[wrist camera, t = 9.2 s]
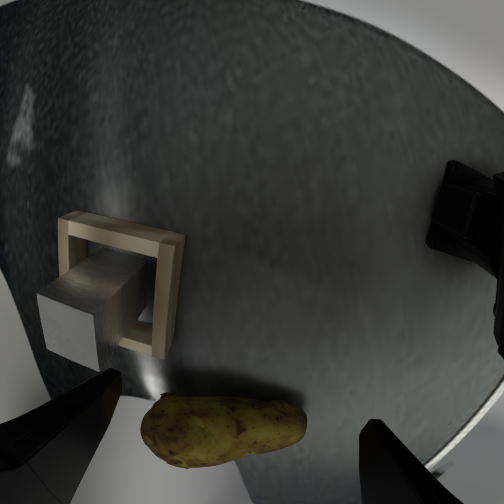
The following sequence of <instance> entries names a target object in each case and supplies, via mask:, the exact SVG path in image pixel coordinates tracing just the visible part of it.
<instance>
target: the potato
mask: <svg viewBox="0 0 504 504" xmlns="http://www.w3.org/2000/svg"><path fill="white" fill-rule="evenodd" d="M170 393H171V392H167V393H163V394H160V395H162V396H161V398H160V400H158V401H157V402H155V403H154V405H153V407H152V408H151V409H150V410H149V411H148V412H147V413H146V414H145V416H144V418H143V420H142V423H141V436H142V439H143V441H144V443H145V445H147V446H148V447H149V448H150V450H151V451H152V452H153V453H154V454H155V455H156V456H157V457H159V458H160V459H162V460H164V461H166V462H167V463H168V464H170V465H173V466H176V467H181V468H186V469H189V468H196V467H197V468H198V467H208V466H216V465H220V464H224V463H227V462H230V461H234V460H236V459H239V458H241V457H244V456H246V455H254V454H263V453H267V452H271V451H275V450H279V449H283V448H286V447H288V446H290V445H292V444H294V443H296V442H298V441H300V440H301V439H302V438H303V437H304V435H305V432H306V428H307V416H306V414H305V412H304V411H303V410H302V409H301V408H299V407H298V406H296V405H294V404H292V403H290V402H287V401H285V400H273V401H270V402H265V401H262V400H258V399H253V398H247V397H237V396H210V397H185V396H175V395H173V393H172V394H170Z"/></svg>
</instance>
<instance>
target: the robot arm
mask: <svg viewBox="0 0 504 504" xmlns="http://www.w3.org/2000/svg"><path fill="white" fill-rule="evenodd" d="M453 165H455V170H453ZM493 179H494V180H492V179H490V178H489V177H487V176H485V175H483V174H481V173H479V172H478V171H476V170H474V169H472V168H470V167H468V166H466V165H464V164H462V163H460V162H458V161H455V160H451V161H449V162H448V165H447V169H446V173H445V177H444V181H443V184H442V185H441V189H440V193H439V196H438V200H437V203H436V207H435V210H434V214H433V217H432V218H433V220H432V224H431V227H430V230H429V233H428V236H427V239H426V244H427V246H429V247H430V248H432V249H435V250H438V251H441V252H444V253H447V254H450V255H453V256H457V257H460V258H463V259H466V260H469V261H472V262H474V263H476V264H477V265H478V266H480V267H481V268H483V269H484V270H485V271H487V272H488V273H490V274H491V275H492V276H494V277H495V278H496V279H497V291H496V301H495V304H494V307H493V313H494V316H495V321H494V336H495V339H496V342H497V345H498V353H499V354H500V355H501V356H502V358H503V359H504V172H501V173H497V174H494V175H493ZM433 239H435V241H434V243H432V244H431V242H432V240H433ZM121 392H122V377H121V372H120V371H118V370H116V369H113V368H108V369H106V370H105V371H103V372H101V373H99V374H98V375H96V376H94V377H92V378H90V379H89V380H87V381H85V382H83V383H81V384H80V385H78V386H76V387H74V388H72V389H70V390H69V391H67V392H65V393H63V394H61V395H59V396H58V397H56V398H54V399H52V400H50V401H48V402H47V403H45V404H43V405H41V406H39V407H37V409H36V408H35V409H34V410H32V411H29V412H28V413H25V414H23V415H21V416H19V417H17V418H15V419H12V420H10V421H7V422H4V423H2V424H0V504H70V503H71V500H72V498H73V496H74V494H75V492H76V490H77V488H78V486H79V484H80V482H81V480H82V477H83V476H84V474H85V472H86V470H87V468H88V465H89V463H90V461H91V459H92V458H93V456H94V454H95V451H96V449H97V448H98V446H99V444H100V442H101V440H102V438H103V436H104V434H105V432H106V430H107V428H108V426H109V424H110V421H111V419H112V416H113V413H114V410H115V408H116V405H117V402H118V400H119V397H120V395H121ZM359 475H360V486H361V497H362V504H463V503H462V502H461V501H460V500H459V499H457V498H456V497H455V496H454V495H453V494H451V493H450V492H449V491H448V490H447V489H446V488H445V487H444V486H443V485H442V484H441V483H440V482H439V481H438V480H437V479H436V478H435V477H433V475H432V474H431V473H430V472H429V471H428V470H427V469H426V467H425V466H424V465H423V464H422V463H421V462H420V461H419V460H418V459H417V458H416V457H415V456H414V455H413V454H412V453H411V451H410V450H409V449H408V448H407V447H406V446H405V445H404V444H403V443H402V442H401V441H400V440H399V439H398V438H397V436H396V435H395V434H394V433H393V432H392V431H391V430H390V429H389V428H388V427H387V426H386V425H385V423H384V422H383V421H382V420H380V419H370V420H369V421H368V422H367V424H366V425H365V426H364V428H363V429H362V430H361V432H360V435H359Z"/></svg>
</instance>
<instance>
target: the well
mask: <svg viewBox="0 0 504 504" xmlns="http://www.w3.org/2000/svg"><path fill="white" fill-rule="evenodd" d="M185 239H186V235H185V234H181V233H177V232H172V231H168V230H163V229H159V228H154V227H150V226H146V225H141V224H137V223H132V222H128V221H123V220H119V219H114V218H110V217H105V216H101V215H97V214H92V213H88V212H83V211H79V210H77V211H74V212H72V213H69V214H67V215H65V216H62V217H60V218H58V253H59V273H60V276H61V275H63V274H64V273H66V272H67V271H68V270H70V269H71V268H73V267H74V266H76V265H77V264H78V263H80V262H81V261H83V260H84V259H86V247H87V240H90V241H94V242H98V243H101V244H105V245H109V246H113V247H117V248H120V249H124V250H128V251H132V252H136V253H140V254H144V255H148V256H152V257H156V258H158V260H157V270H156V282H155V295H154V310H153V325H151V324H147V323H144V322H141V321H137V320H136V321H135V323H134V324H133V325H132V327H131V328H130V330H129V331H128V332H127V334H126V335H125V337H124V338H123V339H122V341H121V342H120V343H119V346H122V347H125V348H128V349H131V350H134V351H137V352H140V353H143V354H146V355H150V356H153V357H156V358H159V359H163V360H164V359H165V357H166V355H167V353H168V351H169V349H170V347H171V345H172V343H173V340H174V329H175V319H176V309H177V300H178V291H179V283H180V275H181V267H182V260H183V253H184V246H185Z"/></svg>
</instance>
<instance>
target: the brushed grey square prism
mask: <svg viewBox="0 0 504 504" xmlns="http://www.w3.org/2000/svg"><path fill="white" fill-rule="evenodd" d="M149 261H150V259H147V258H143V257H139V256H135V255H131V254H127V253H123V252H120V251H116V250H112V249H108V248H104V247H102V248H101V249H99V250H98V251H96V252H95V253H93V254H92V255H90V256H89V257H87V258H86V259H84V260H83V261H81V262H80V263H78V264H77V265H76V266H74V267H73V268H71V269H70V270H68V271H67V272H66V273H64V274H63V275H61V276H60V277H58V278H57V279H56V280H54V281H53V282H52V283H50V284H49V285H47V286H46V287H45V288H43V289H42V290H41V291H39V292H38V293H37V299H38V305H39V311H40V317H41V323H42V328H43V333H44V337H45V342H46V346H47V349H48V350H50V351H53V352H55V353H57V354H59V355H61V356H63V357H65V358H68V359H70V360H72V361H74V362H77V363H79V364H81V365H84V366H86V367H89V368H91V369H94V370H96V371H99V372H100V371H101V369H102V368H103V366H104V365H105V363H106V362H107V360H108V359H109V358H110V356H111V355H112V353H113V352H114V351H115V349H116V348H117V346H118V345H119V343H120V342H121V341H122V339H123V338H124V337H125V335H126V334H127V332H128V331H129V330H130V328H131V327H132V325H133V324H134V323H135V321H136V320H137V319H138V317H139V316H140V315H141V313H142V312H143V311H144V309H145V308H146V307H147V290H148V274H149Z"/></svg>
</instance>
